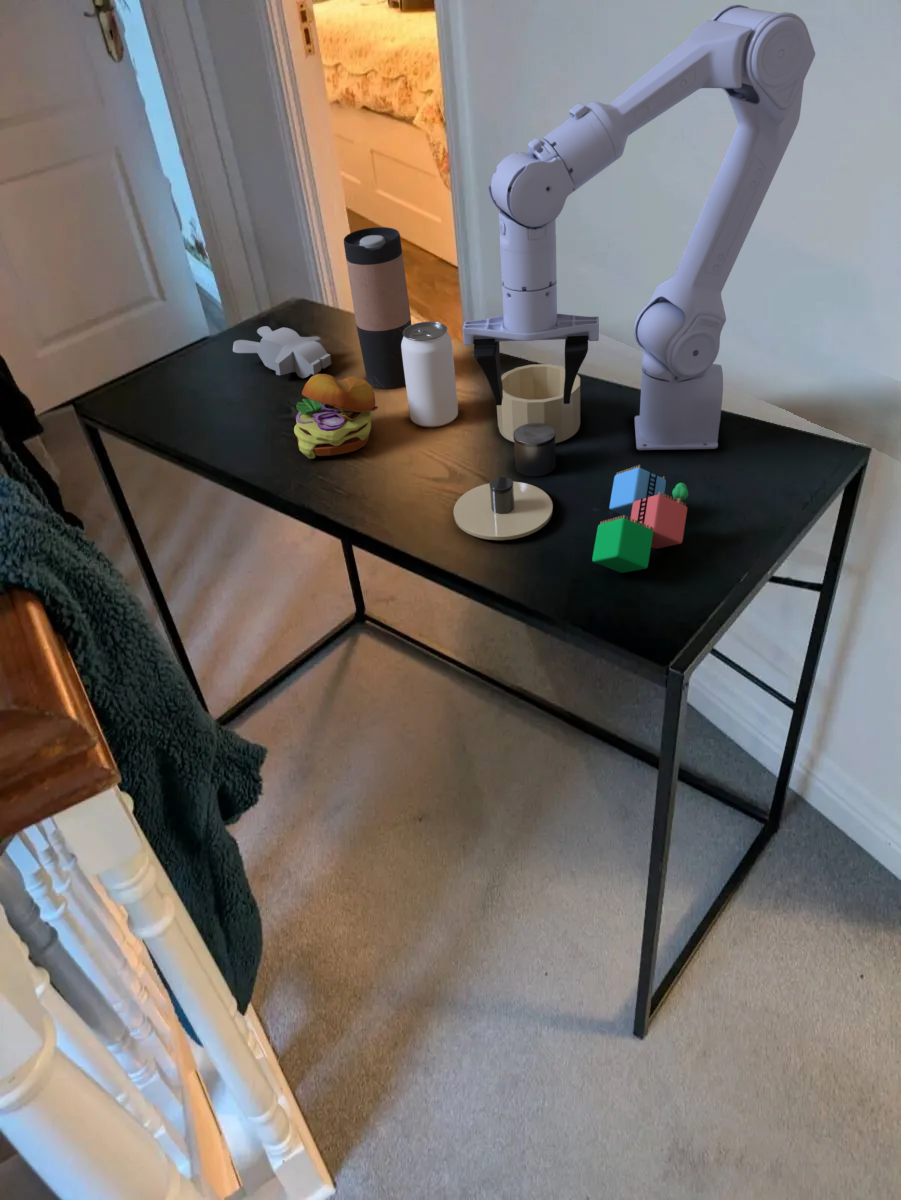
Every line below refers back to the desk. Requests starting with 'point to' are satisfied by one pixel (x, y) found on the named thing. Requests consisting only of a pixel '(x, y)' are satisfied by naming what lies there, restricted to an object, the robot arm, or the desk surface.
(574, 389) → the beige hollow cylinder
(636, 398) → the desk surface
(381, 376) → the travel mug
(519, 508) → the pot lid
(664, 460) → the desk surface
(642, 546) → the building blocks
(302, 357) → the bunny figurine
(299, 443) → the cheeseburger
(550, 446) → the tin
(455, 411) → the can
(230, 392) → the desk surface
